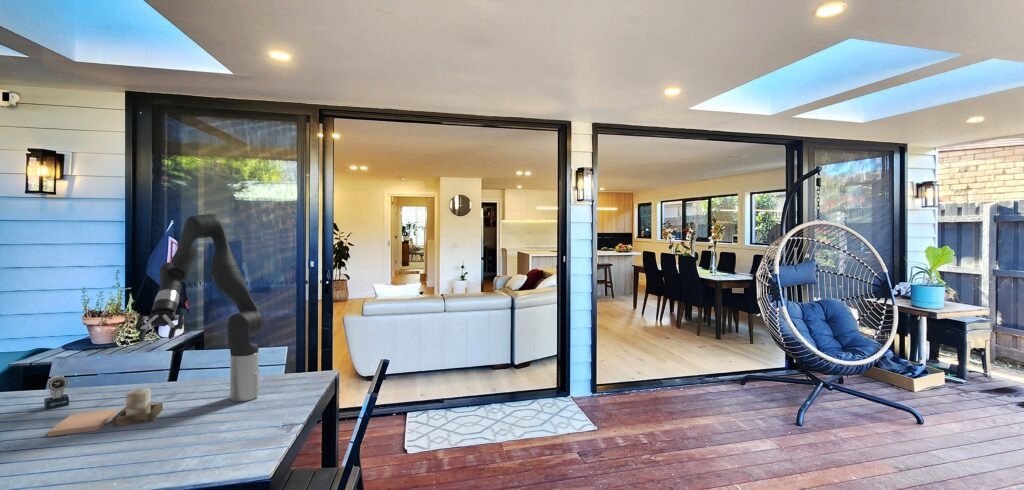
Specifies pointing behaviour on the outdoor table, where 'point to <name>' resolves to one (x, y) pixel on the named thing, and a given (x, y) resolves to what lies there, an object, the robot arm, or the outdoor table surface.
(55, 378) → the watch
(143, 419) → the walnut pocket frame
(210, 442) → the outdoor table surface
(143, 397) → the ash block
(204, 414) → the outdoor table surface
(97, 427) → the terracotta tile
